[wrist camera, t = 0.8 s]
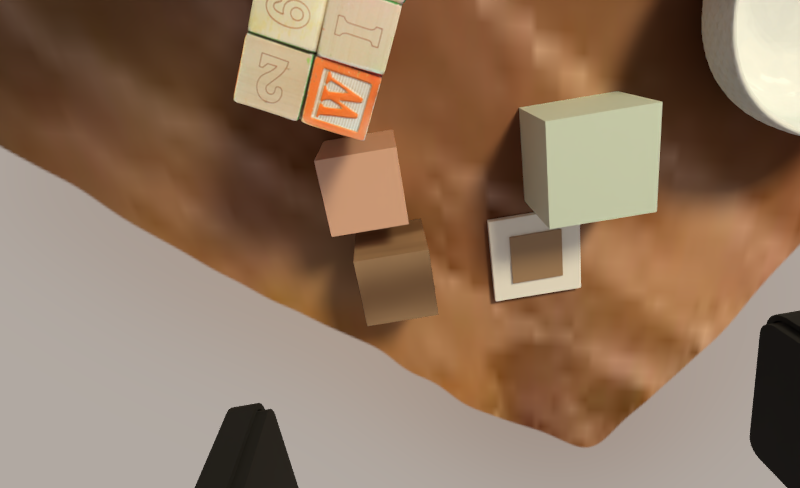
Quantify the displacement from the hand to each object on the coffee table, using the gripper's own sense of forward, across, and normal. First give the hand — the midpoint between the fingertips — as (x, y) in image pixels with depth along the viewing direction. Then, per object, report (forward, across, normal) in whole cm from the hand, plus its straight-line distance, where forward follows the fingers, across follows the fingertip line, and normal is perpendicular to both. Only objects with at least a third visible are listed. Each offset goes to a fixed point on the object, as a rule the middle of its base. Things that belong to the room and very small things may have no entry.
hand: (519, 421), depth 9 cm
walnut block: (+28, +3, +7) cm, 30 cm away
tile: (+28, -8, +9) cm, 31 cm away
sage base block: (+28, -11, +1) cm, 30 cm away
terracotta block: (+28, +4, 0) cm, 28 cm away
